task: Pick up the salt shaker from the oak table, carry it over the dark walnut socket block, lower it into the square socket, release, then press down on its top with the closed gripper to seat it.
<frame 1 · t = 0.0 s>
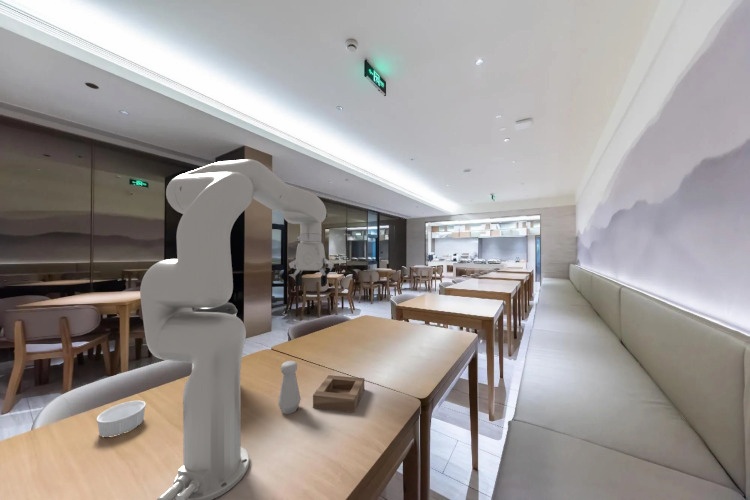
hand: (311, 285, 95), 31 cm above the table, tool pointing down, fingers open, 9 cm apart
salt shaker: (289, 410, 72), on the table
coffee press: (216, 391, 82), on the table
socket block: (340, 397, 77), on the table
ramekin: (122, 428, 65), on the table
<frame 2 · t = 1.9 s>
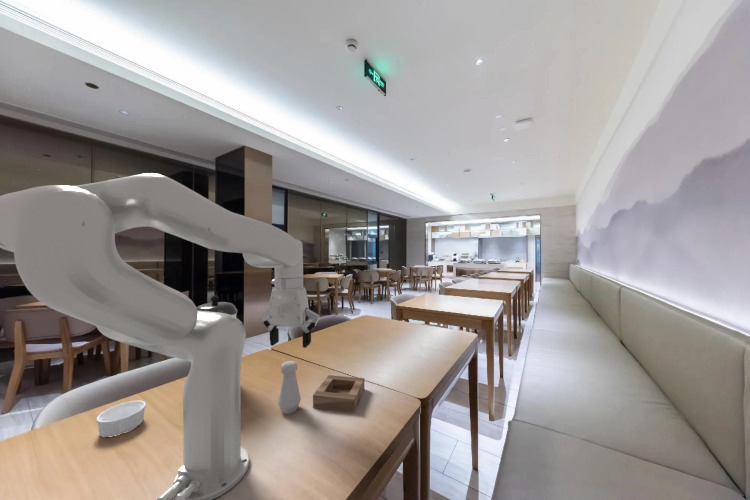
hand: (290, 344, 72), 18 cm above the table, tool pointing down, fingers open, 9 cm apart
nothing on the table moved.
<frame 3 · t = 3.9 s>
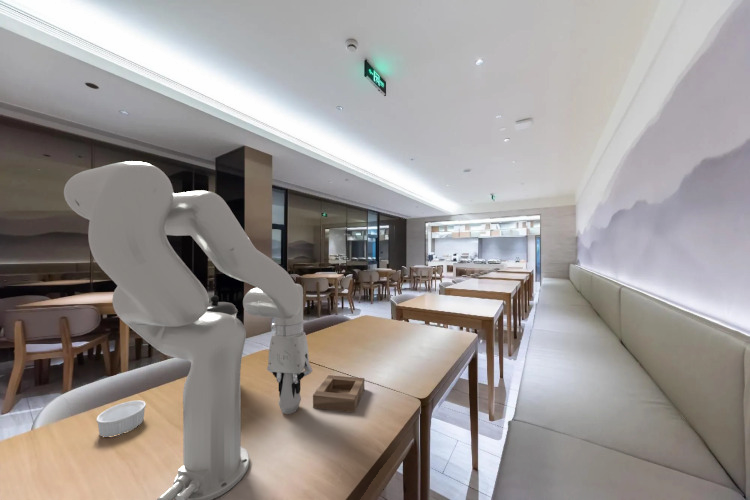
hand: (289, 394, 72), 4 cm above the table, tool pointing down, fingers closed on salt shaker, 3 cm apart
salt shaker: (289, 410, 72), on the table, touching gripper
everything else where it was.
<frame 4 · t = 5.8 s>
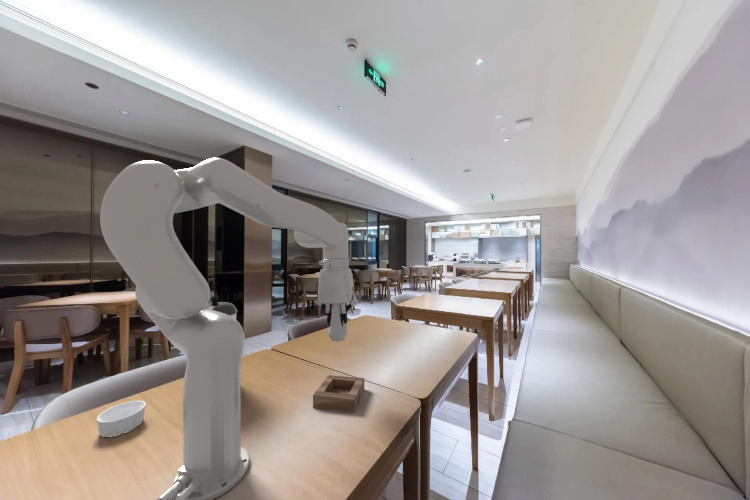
hand: (337, 325, 77), 22 cm above the table, tool pointing down, fingers closed on salt shaker, 3 cm apart
salt shaker: (337, 339, 77), point 17 cm above the table, touching gripper
everything else where it was.
when the fingers open (6 cm above the table, at t = 8.2 s): salt shaker drops 1 cm, resting on socket block.
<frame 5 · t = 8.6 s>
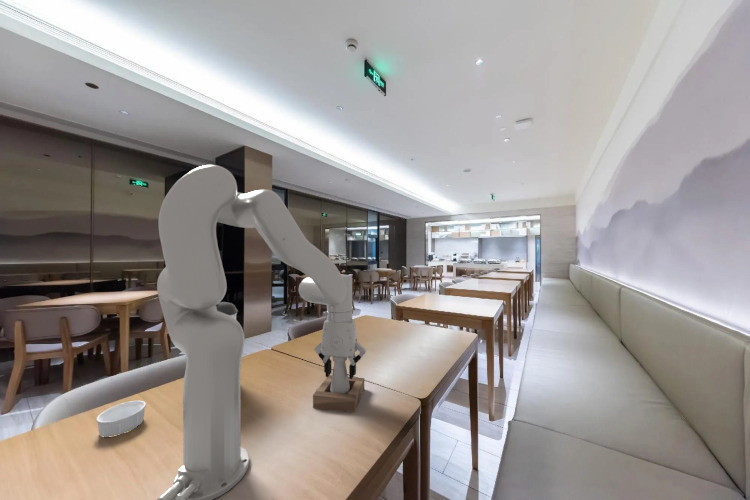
hand: (340, 375, 77), 7 cm above the table, tool pointing down, fingers open, 6 cm apart
salt shaker: (340, 397, 77), resting on socket block
everything else where it was.
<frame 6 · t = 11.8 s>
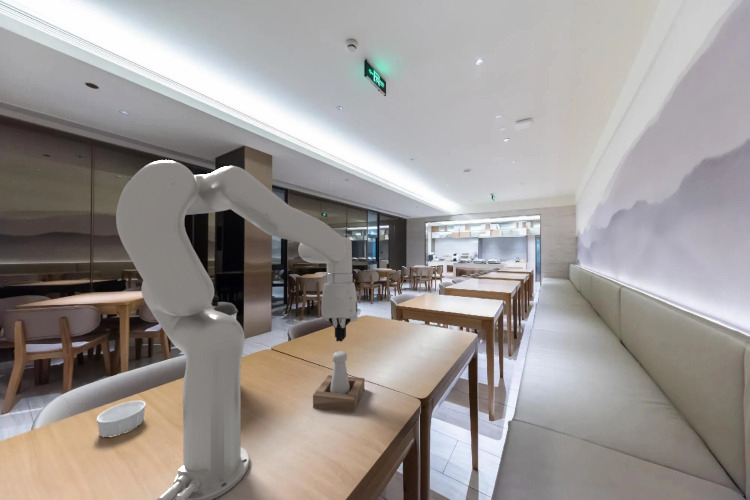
hand: (340, 339, 78), 17 cm above the table, tool pointing down, fingers closed
nothing on the table moved.
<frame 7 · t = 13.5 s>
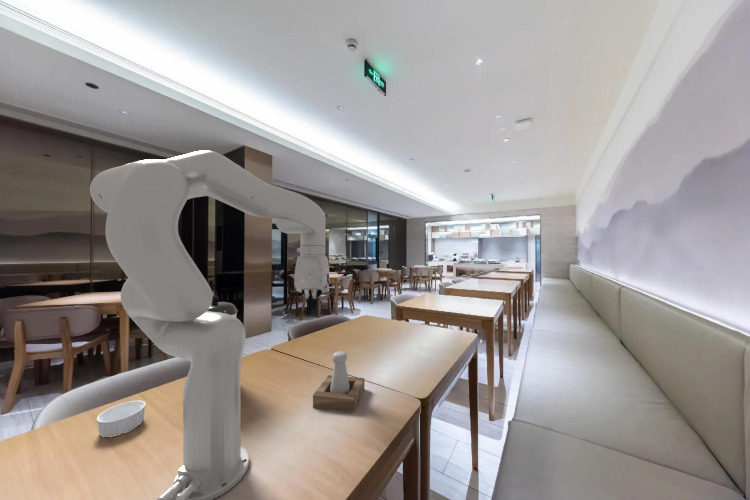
hand: (312, 310, 80), 25 cm above the table, tool pointing down, fingers closed
nothing on the table moved.
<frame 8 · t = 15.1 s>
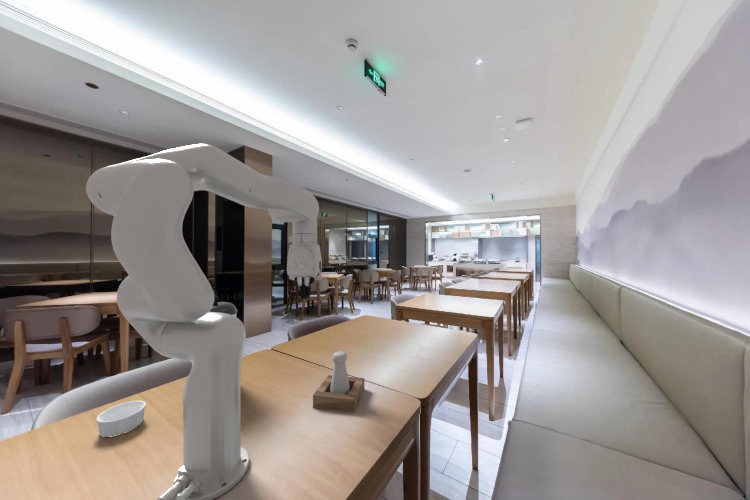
hand: (305, 298, 82), 29 cm above the table, tool pointing down, fingers closed
nothing on the table moved.
at the end: salt shaker 0.1 cm off-centre on the socket block, point 0.3 cm above the socket block's base; salt shaker tilted 0°; the gripper is holding nothing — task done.
